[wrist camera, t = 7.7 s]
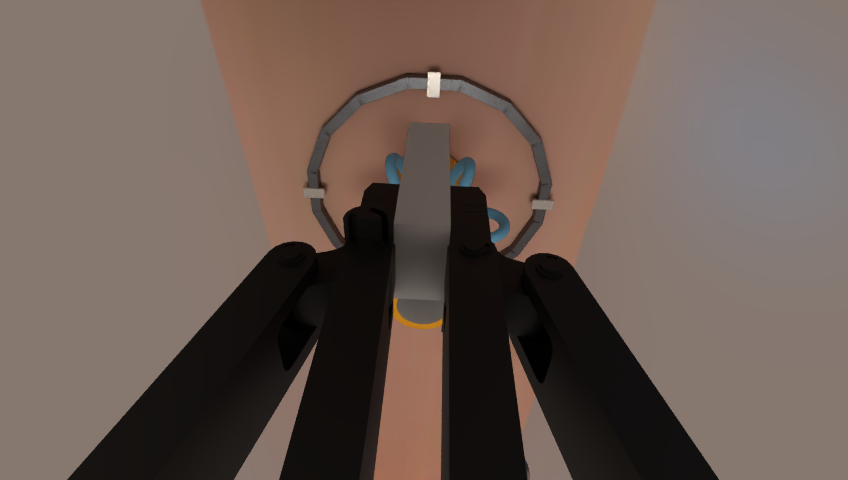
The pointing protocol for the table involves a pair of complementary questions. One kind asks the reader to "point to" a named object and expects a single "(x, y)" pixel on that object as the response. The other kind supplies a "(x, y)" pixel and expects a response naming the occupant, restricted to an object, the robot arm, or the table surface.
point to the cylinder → (462, 174)
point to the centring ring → (433, 86)
